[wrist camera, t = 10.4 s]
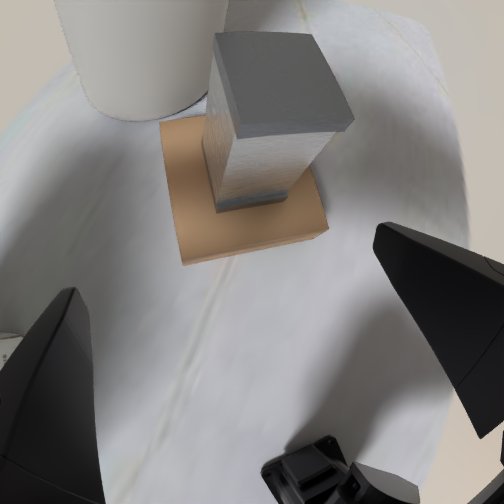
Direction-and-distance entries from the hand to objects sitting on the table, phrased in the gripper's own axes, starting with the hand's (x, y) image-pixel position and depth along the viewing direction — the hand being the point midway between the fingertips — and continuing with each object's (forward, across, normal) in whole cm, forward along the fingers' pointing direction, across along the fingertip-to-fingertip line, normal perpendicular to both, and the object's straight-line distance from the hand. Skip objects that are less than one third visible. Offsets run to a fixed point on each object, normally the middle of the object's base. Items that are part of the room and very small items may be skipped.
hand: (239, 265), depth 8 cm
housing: (+13, -4, +2) cm, 13 cm away
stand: (+15, -4, +4) cm, 16 cm away
